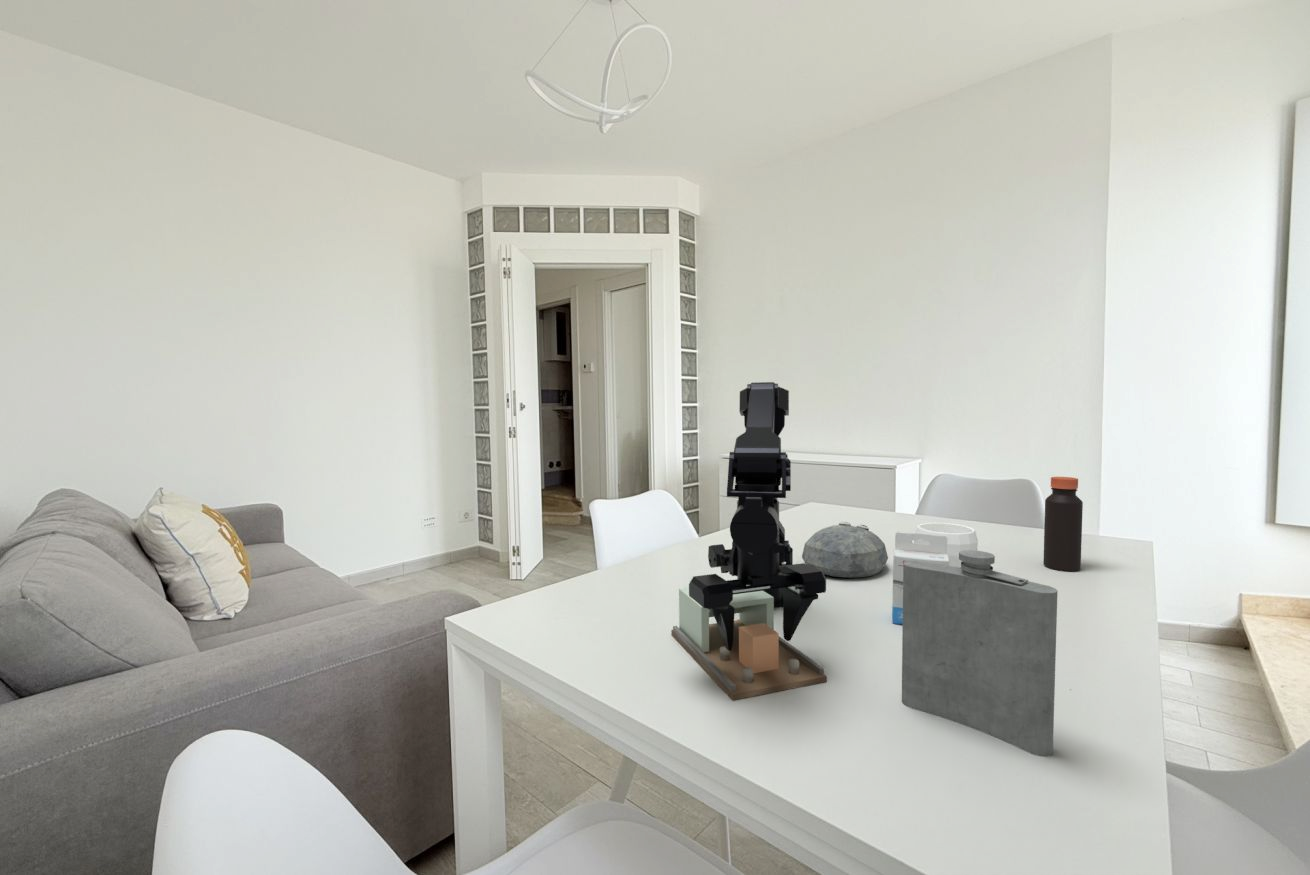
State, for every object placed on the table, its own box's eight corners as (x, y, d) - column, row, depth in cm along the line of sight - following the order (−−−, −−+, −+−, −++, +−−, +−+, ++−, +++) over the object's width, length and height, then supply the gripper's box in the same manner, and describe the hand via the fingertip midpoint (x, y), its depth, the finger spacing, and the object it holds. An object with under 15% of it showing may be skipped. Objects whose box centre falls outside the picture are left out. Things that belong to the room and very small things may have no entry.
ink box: (891, 624, 97) (892, 537, 96) (892, 614, 101) (893, 531, 100) (948, 631, 93) (949, 542, 92) (947, 621, 97) (948, 535, 97)
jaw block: (778, 668, 79) (778, 633, 79) (752, 673, 78) (752, 637, 77) (763, 656, 83) (763, 622, 83) (739, 661, 82) (738, 626, 81)
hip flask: (897, 702, 71) (899, 544, 70) (911, 691, 74) (913, 538, 73) (1048, 760, 60) (1053, 571, 59) (1058, 744, 62) (1063, 563, 61)
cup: (989, 580, 119) (990, 534, 119) (929, 580, 119) (930, 534, 119) (958, 563, 132) (959, 521, 131) (904, 564, 132) (905, 522, 131)
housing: (745, 620, 96) (745, 580, 96) (773, 640, 88) (773, 597, 87) (679, 630, 92) (678, 588, 92) (701, 652, 84) (701, 607, 84)
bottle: (1039, 567, 127) (1042, 478, 126) (1047, 561, 132) (1050, 475, 131) (1076, 573, 123) (1079, 480, 121) (1084, 567, 127) (1086, 477, 126)
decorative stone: (784, 569, 130) (784, 525, 129) (838, 553, 142) (838, 513, 142) (853, 588, 116) (854, 539, 115) (906, 568, 129) (906, 524, 128)
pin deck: (748, 623, 98) (748, 609, 98) (826, 681, 77) (826, 664, 77) (671, 634, 93) (671, 620, 93) (732, 700, 72) (732, 682, 72)
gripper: (785, 518, 90) (785, 615, 91) (674, 528, 84) (675, 632, 85) (828, 533, 79) (828, 643, 80) (705, 546, 73) (706, 665, 74)
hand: (758, 644), depth 80 cm, fingers open, 9 cm apart
